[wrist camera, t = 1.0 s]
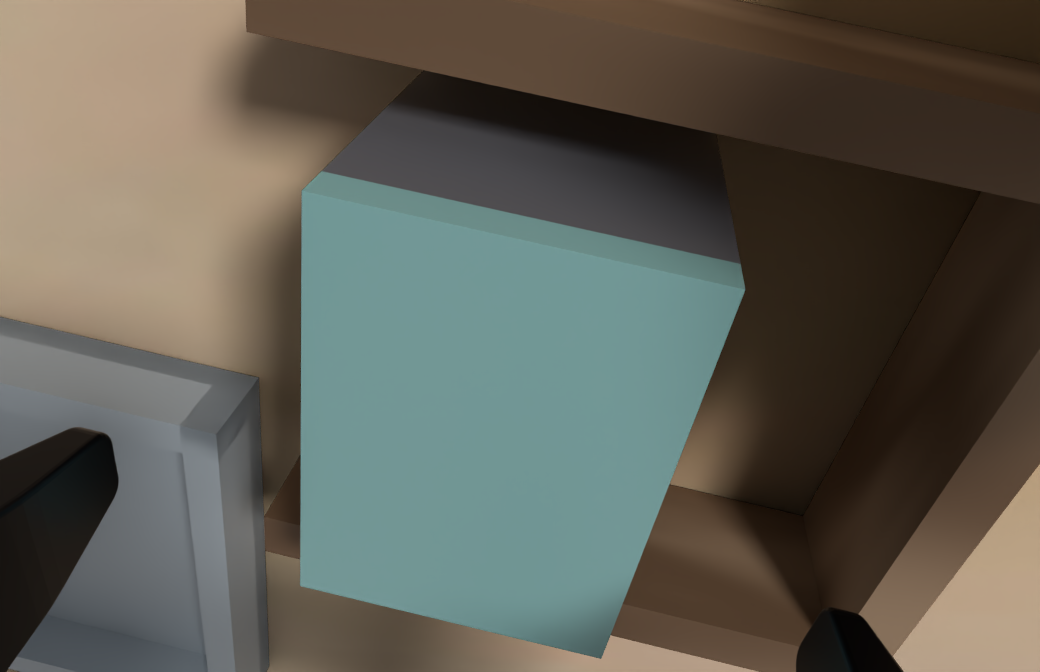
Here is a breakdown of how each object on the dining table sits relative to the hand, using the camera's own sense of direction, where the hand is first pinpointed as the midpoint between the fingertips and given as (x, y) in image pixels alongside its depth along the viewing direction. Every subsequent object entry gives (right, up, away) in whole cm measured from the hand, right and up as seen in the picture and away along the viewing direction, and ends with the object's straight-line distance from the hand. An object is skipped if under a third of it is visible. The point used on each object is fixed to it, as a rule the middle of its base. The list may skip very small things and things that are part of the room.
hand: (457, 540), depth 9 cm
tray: (-11, -2, +11) cm, 16 cm away
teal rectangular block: (+1, +4, +6) cm, 7 cm away
